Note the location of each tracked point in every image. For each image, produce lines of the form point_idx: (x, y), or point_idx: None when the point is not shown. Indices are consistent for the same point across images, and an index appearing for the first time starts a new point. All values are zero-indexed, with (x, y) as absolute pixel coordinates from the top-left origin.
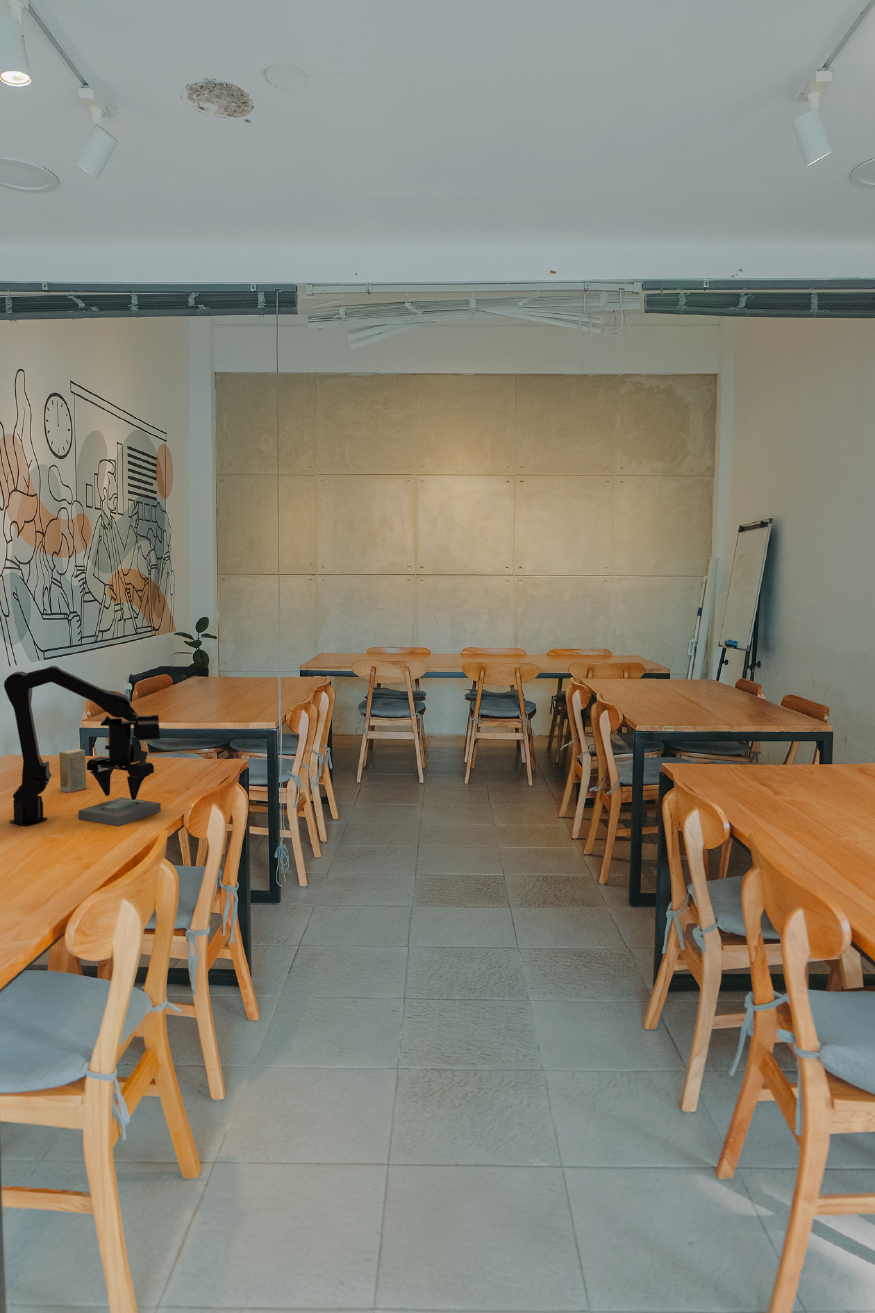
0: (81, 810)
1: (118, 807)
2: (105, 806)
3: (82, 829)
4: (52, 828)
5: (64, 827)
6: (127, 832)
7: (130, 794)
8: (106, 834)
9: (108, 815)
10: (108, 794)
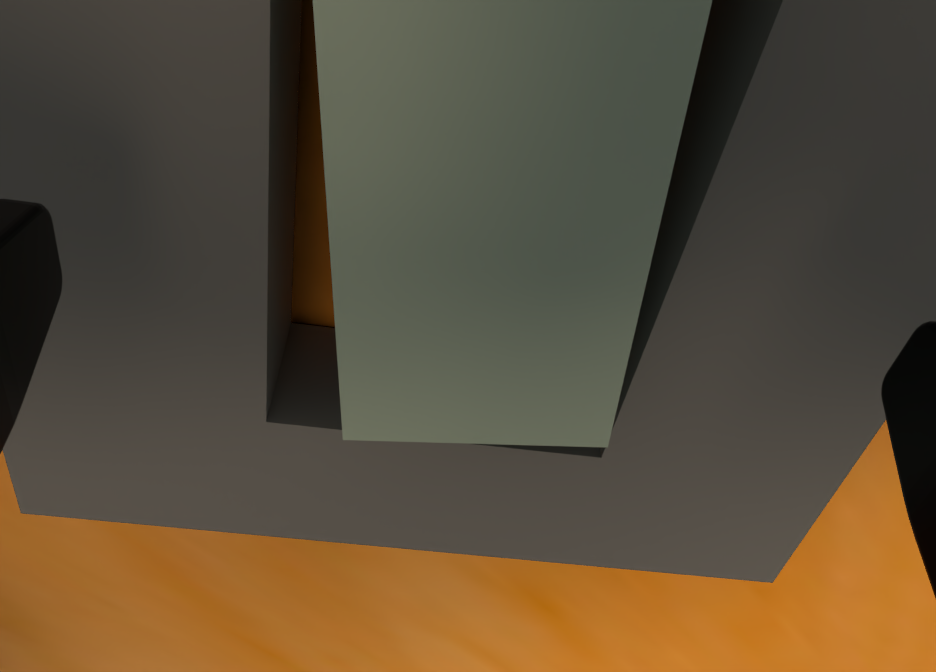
0: (73, 513)
1: (607, 413)
2: (344, 423)
3: (422, 612)
4: (136, 643)
5: (209, 609)
6: (912, 587)
7: (920, 536)
8: (730, 650)
9: (592, 559)
10: (44, 254)
